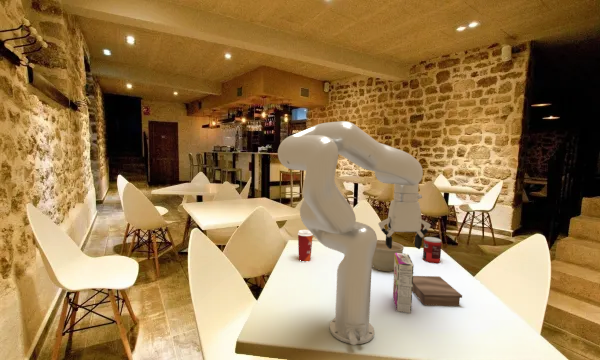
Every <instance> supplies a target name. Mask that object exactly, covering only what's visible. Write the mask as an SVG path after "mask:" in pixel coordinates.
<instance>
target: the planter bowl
mask: <svg viewBox="0 0 600 360" xmlns="http://www.w3.org/2000/svg"><path fill="white" fill-rule="evenodd" d="M403 252H404V245H402V244H400V243H398V242H395V241H392V248H391V249H389V248H388V247H387V245H386V239H385V240H384V239H383V240H382V239H377V244H376V249H375V252H374V257H373V262H372V268H374V269H375V270H379V271H382V272H392V271H394V258H395V253H403ZM403 254H404V253H403Z"/></svg>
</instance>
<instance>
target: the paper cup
mask: <svg viewBox="0 0 600 360" xmlns="http://www.w3.org/2000/svg"><path fill="white" fill-rule="evenodd" d="M313 237H314V235H313V234H312V233H311V232H310V231H309V230H308V229H300V230H298V232H297V242H298V243H297V245H298V247H297V248H298V260H299V261H300V260H301V261H300V262H302V261H308V262H310V261H311V258H312V257H311V256H312V246H313Z"/></svg>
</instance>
